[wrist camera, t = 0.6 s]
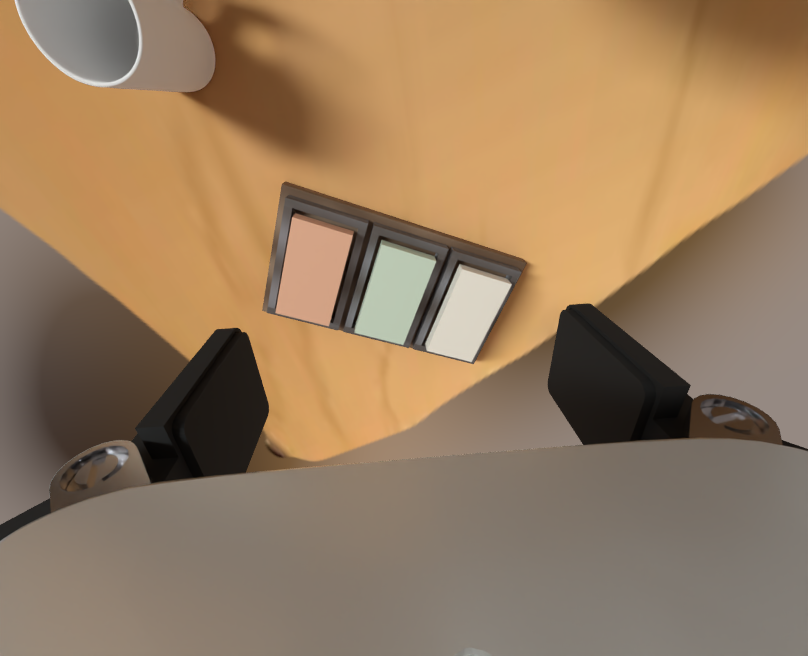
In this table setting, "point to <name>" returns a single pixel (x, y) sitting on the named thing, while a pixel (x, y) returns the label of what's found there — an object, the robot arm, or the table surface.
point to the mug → (122, 42)
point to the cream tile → (467, 313)
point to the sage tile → (394, 292)
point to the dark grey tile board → (363, 255)
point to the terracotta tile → (312, 269)
